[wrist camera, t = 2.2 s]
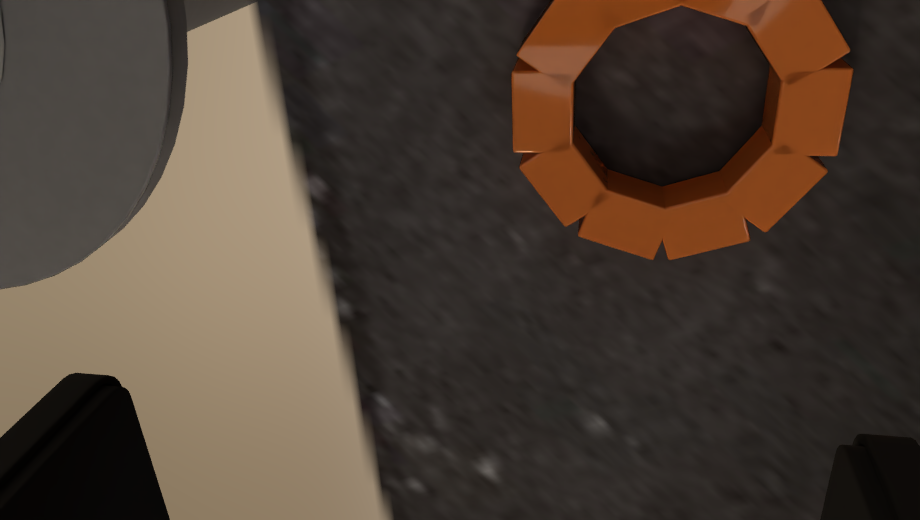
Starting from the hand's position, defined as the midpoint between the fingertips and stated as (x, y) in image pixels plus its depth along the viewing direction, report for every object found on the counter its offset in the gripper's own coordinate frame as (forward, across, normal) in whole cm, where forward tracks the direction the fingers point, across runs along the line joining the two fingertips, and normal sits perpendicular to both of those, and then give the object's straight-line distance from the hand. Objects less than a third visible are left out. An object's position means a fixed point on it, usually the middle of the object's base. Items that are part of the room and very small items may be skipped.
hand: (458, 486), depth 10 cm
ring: (+16, -4, -1) cm, 17 cm away
